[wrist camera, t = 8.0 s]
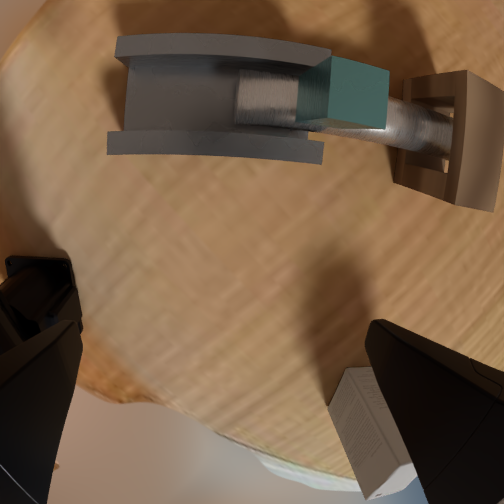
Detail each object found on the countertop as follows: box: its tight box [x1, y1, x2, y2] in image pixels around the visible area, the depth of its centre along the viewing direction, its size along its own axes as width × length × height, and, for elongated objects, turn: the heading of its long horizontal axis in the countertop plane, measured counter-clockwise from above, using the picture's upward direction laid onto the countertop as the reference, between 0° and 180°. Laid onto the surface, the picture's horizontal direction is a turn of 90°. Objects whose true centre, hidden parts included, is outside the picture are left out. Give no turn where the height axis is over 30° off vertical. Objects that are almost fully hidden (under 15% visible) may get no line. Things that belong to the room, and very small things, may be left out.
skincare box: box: [328, 367, 417, 500], centre depth 23 cm, size 6×4×12 cm
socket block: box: [393, 70, 504, 212], centre depth 17 cm, size 4×8×7 cm, turn 175°
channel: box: [107, 33, 331, 165], centre depth 16 cm, size 11×6×4 cm, turn 85°
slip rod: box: [234, 56, 453, 161], centre depth 14 cm, size 15×3×8 cm, turn 85°
